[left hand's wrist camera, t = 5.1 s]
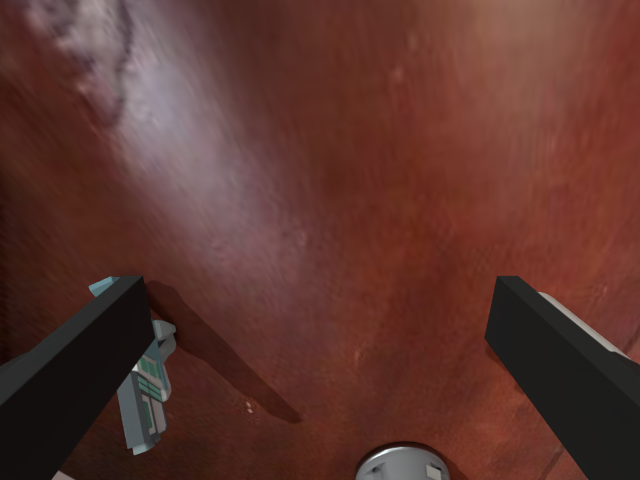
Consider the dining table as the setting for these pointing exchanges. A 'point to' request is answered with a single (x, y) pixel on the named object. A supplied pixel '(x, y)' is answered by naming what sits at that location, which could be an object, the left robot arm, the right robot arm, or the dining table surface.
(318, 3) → the dining table surface
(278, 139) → the dining table surface
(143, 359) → the toy gun
